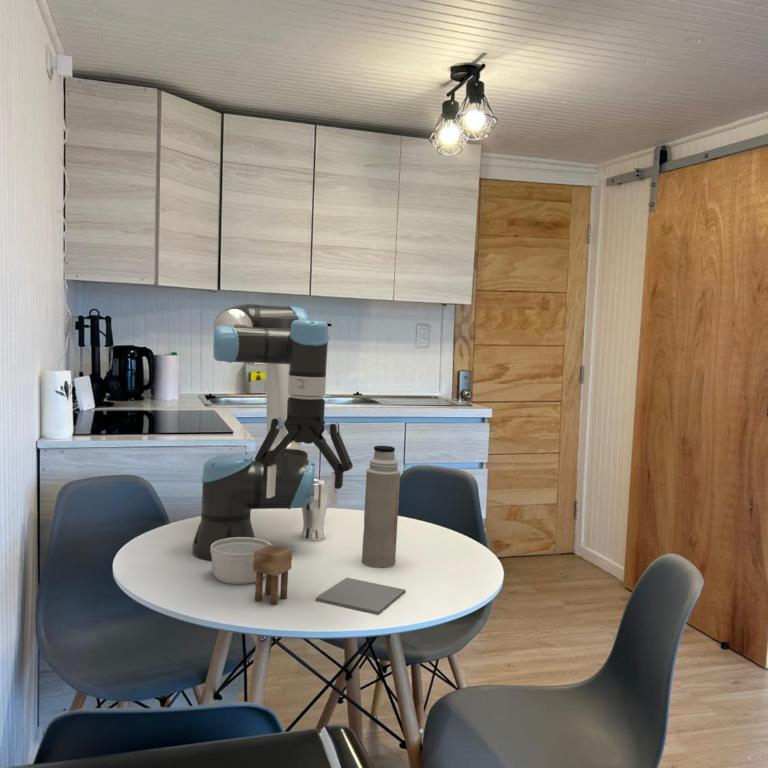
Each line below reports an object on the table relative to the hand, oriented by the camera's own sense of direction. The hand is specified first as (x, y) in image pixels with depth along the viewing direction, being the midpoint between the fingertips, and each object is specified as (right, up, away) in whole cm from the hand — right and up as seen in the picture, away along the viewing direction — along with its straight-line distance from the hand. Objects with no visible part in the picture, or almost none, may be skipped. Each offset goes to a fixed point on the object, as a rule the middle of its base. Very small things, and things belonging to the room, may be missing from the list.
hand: (301, 500), depth 146 cm
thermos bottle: (+15, -19, +25) cm, 35 cm away
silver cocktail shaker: (-2, -17, +42) cm, 46 cm away
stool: (-6, -20, -2) cm, 21 cm away
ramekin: (-15, -19, +11) cm, 26 cm away
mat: (+12, -20, +2) cm, 24 cm away
